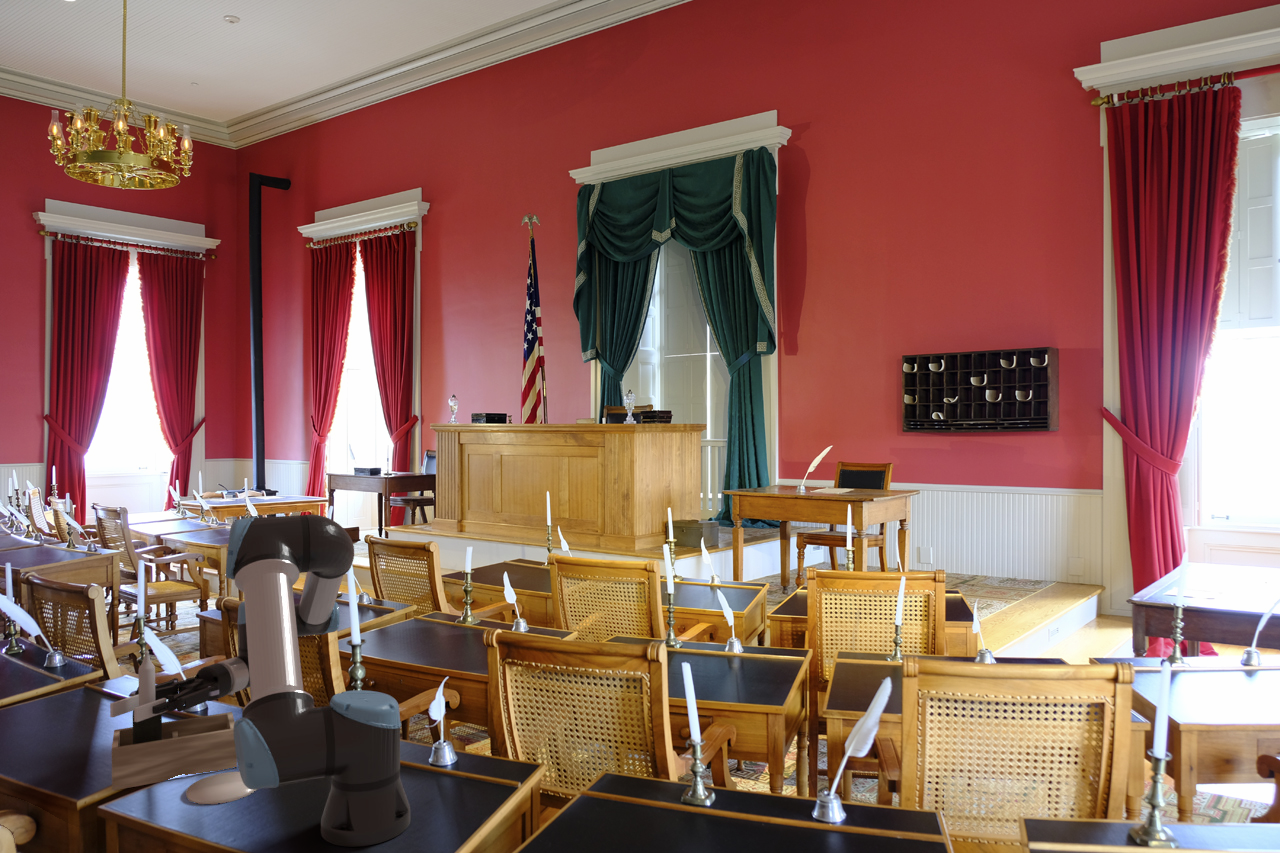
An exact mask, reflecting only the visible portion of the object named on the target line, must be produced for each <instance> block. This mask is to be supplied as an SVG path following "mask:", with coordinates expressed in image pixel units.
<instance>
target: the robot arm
mask: <svg viewBox="0 0 1280 853" xmlns="http://www.w3.org/2000/svg"><path fill="white" fill-rule="evenodd" d="M228 536H229V537H228V542H227V543H228V545H227V555H226V565H225V577H226V578H227V579H229V580H234V585H235V587H236V588H237V589H238V590H239V591H241V592H242V593H243V595H244V600H243V601H242V602H240V603H239V604H238V608H237V609H238V610H237V656H235V657H231V658H228V659H224V660H222V661H219V662H217V663H213V664H209V665H207V666H204V667H201V668H200V669H199V670H198V671H197V673H196V675H194V676H195V677H189V678H188V677H187V678H186V679H184V680H181V681H180V680H179V678H177V677H174V678H172V679H169V680H168V681H164V682H162V683H161V682H160V683H158V684H155V701H153V702H150V703H147V704H145V705H142V706H139V689H136V690H135V691H134V695H132V696H128V697H126V698H123V699H120V700H117V701H112V702H111V703H110V705H109V708H110V710H109V711H110V714H109V715H110V718H115V717H118V716H122V715H124V714H127V713H130V712H133V711H134V722H139V721H142V720H145V719H147V718H150V717H153V716H156V715H159V714H161V713H162V714H163V713H167V712H174V711H175V710H177V712H183V711H186V710H188V709H191V708H194V707H196V706H199V705H201V704H204V703H206V702H212V701H213V702H214V701H216V700H218V699H222V698H223V697H226V696H233V695H235V693H237V692H240V691H243V690H245V689H248V688H249V691H250V693H249V694H250V701H249V702H248V703H247V704H246V705H245V706H244V707H243V709H242V712H241V717H240V718H239V719H237V720H234V722H235V723H234V741H235V746H236V747H235V750H236V757H237V767H238V772H240V775H241V778H242V781H243V783H244V785H245V786H246V787H247V788H249V789H253V790H256V789H257V790H261V789H269V788H270V789H277V788H278V787H282V786H286V785H293V784H297V783H302V782H306V781H312V780H317V779H323V778H327V777H331V780H330V782H331V783H330V784H331V786H330V791H329V793H328V797H327V800H326V802H325V806H324V810H323V812H322V815H321V819H320V835H321V837H322V838H323V840H324V841H326V842H327V843H330V844H332V845H335V846H339V847H351V848H352V847H353V848H355V847H356V848H357V847H366V846H367V847H368V846H372V845H377V844H380V843H384V842H387V841H389V840H392V839H393V838H396V837H398V836H399V835H401V834H402V833H404V832H405V831H406V829H408V828H409V826H410V825H411V805H410V802H409V800H408V797H407V794H406V792H405V789H404V786H403V783H402V780H401V726H402V722H401V716H400V705H399V703H398V701H397V700H396V699H395V698H394V697H393V696H391V695H390V694H387V693H384V692H379V691H373V690H361V689H360V690H359V689H358V690H354V689H353V690H346V691H341V692H338V693H336V694H334V695H333V696H332V697H331V698H330V700H329V705H325V706H317V707H315V700H314V697H313V695H311V694H310V693H309V692H307V691H305V690H304V684H303V674H302V665H301V657H300V648H299V647H300V646H299V639H298V637H307V636H316V635H321V636H322V635H326V634H329V633H330V634H331V633H335V632H337V631H338V630H339V627H340V621H341V620H340V619H341V618H340V616H341V615H340V607H339V604H338V602H336V601H337V597H338V594H339V592H340V591H339V590H340V587H341V583H342V581H343V577H344V576H345V575H346V574H347V573H348V572H349V571H350V569H351V567H352V566H353V562H354V559H355V547H354V542H353V540H352V538H351V536H350V535H349V533H348V532H347V530H345V528H344V527H342V525H340V523H338V522H337V521H334V520H333V519H331V518H329V517H326V516H324V515H320V514H302V515H301V514H300V515H281V516H279V515H278V516H266V517H263V516H262V517H258V516H252V517H246V518H239V519H236V520H234V521H233V522H232V524H231V526H230V529H229V535H228ZM300 573H301V574H302V573H306V575H305V579H304V583H303V587H302V588H303V589H302V593H301V597H300V601H299V604H295V600H294V589H293V585H295V584H296V583H297V582H298V580H299V579H300ZM138 706H139V707H138ZM257 790H256V791H257Z"/></svg>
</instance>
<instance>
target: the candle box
mask: <svg viewBox="0 0 1280 853" xmlns="http://www.w3.org/2000/svg"><path fill="white" fill-rule="evenodd" d="M234 723H235V718H234V714H233V711H229V712H222V713H216V714H210V715H203V716H196V717H191V718H189V717H188V718H183V719H182V718H181V719H178V720H177V719H176V720H172V721H171V720H170V721H165V722H163V721H162V740H158V741H152V742H146V743H140V744H133V726H131V727H123V728H119V729H118V728H117V729H114V730H113V737H112V745H111V791H112V792H113V791H119V790H123V789H128V788H133V787H140V786H141V787H142V786H144V785H150V784H151V785H152V784H157V783H161V782H162V783H163V782H166V781H165V780H168V779H170V778H173V777H175V776H178V775H182V774H185V775H188V774H196V773H203V772H210V771H217V772H219V771H218V770H223V769H228V768H233V767H238V762H237V757H236V750H235V747H236V746H235V741H234ZM228 770H229V769H228ZM223 771H224V770H223ZM168 781H169V780H168Z"/></svg>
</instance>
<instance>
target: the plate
mask: <svg viewBox="0 0 1280 853" xmlns="http://www.w3.org/2000/svg"><path fill="white" fill-rule="evenodd" d="M257 790H258V789H256V790H253V789H249V788H247V787H246V786H245V785H244V783H243V781H242V778H241V775H240V771H229V772H220V773H216V774H213V775H210V776H207V777H204V778H203V777H202V778H201V779H198V780H197V781H195V782H194V783H191V784H190V785H189V786H188V787H187V789H186V792H185V796H187V797H186V799H187V798H188V799H189V800H188V799H187V800H188V801H189V802H190V801H191V803H192V802H195V803H194V804H196V803H198V804H197V805H204V804H211V805H219V804H218V803H220V804H225V803H226V802H227V803H230V802H231V803H232V802H234V801H238V800H240V798H241V799H244V798H246V797H248V796H251V795H252V794H253V793H255V792H256V791H257ZM254 791H255V792H254ZM251 793H252V794H251ZM243 797H244V798H243Z"/></svg>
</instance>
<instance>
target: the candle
mask: <svg viewBox="0 0 1280 853" xmlns="http://www.w3.org/2000/svg"><path fill="white" fill-rule="evenodd" d="M143 653H144V657H143V659H142V663H141V665H140V666H139V667H138V690H139V706H142V705H145V704H147V703H150V702H153V701H155V685H156V666H155V665H154V664H153V662H152V659H151V658H150V651H149V650H145V651H144V652H143ZM139 706H138V707H139ZM162 716H163V713H161V714H159V715H156V716H153V717H150V718H147V719H145V720H142V721H139V722H134V710H133V711H132V727H133V744H140V743H146V742H152V741H158V740H162V723H163V719H162V718H163V717H162Z"/></svg>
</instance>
